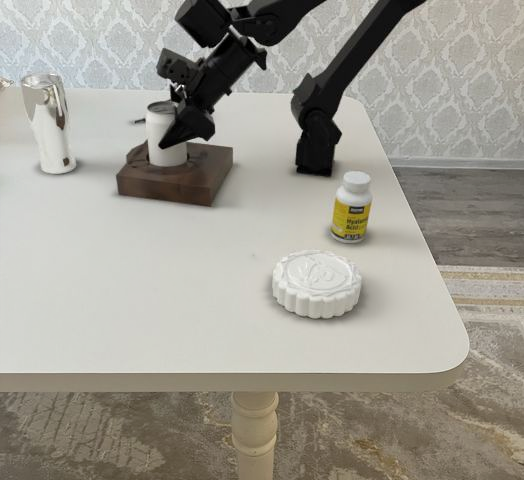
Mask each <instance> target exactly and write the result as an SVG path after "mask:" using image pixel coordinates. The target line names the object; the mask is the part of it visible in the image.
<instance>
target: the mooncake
mask: <svg viewBox="0 0 524 480" xmlns="http://www.w3.org/2000/svg"><path fill="white" fill-rule="evenodd" d="M362 284H363V276H362V275H361V271H360V269H359V268H358V267H356V265H355V263H354V262H353V261H351V260H348V259H347V257H345V256H343V255H337V254H336V253H335V252H332V251H325V250H324V249H323V250H321V249H316V250H313V249H303V250H302V251H294V252H292V253H291V254H289V255H285V256H283V257H282V258H281V260H279V261H277V262H276V263H275V268H274V269H273V270H272V284H271V288H272V295H273V297H274V298H275V299H276V300H277V301H276V302H277V303H278V304H279V305H280V306H282V307H284V308H285V310H286V311H288V312H290V313H295V314H296V315H298V316H300V317H309V318H311V319H319V318H322V319H331V318H332V317H341V316H343V315H344V313H347V312H350V311H352V310H353V308H354V306H355V305H357V304H358V303H359V299H360V294H361V288H362Z"/></svg>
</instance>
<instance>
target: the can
mask: <svg viewBox="0 0 524 480" xmlns="http://www.w3.org/2000/svg"><path fill="white" fill-rule="evenodd" d="M178 105H179V104H178V103H176V102H172V101H166V100H159V101H154V102H151V103H149V104H148V105H147V106H146V109H147V111H146V113H145V118H146V121H145V127H146V128H145V129H146V136H147V137H146V140H147V139H148V148H149V158H150V163H151V164H154V165H156V166H164V167H168V166H177V165H181V164H183V163H185V162H187V148H186V141H185V142H183V143H180V144H177V145H174V146H172V147H169V148H166V149H164V150H162V149H161V148H159V147H158V143H159V142H160V140H161V138H162V137H163V135H164V134H165V132H166V131H167V129H168V128H169V126H170V125H171V123H172V122H173V120H174V106H176V107H178Z"/></svg>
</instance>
